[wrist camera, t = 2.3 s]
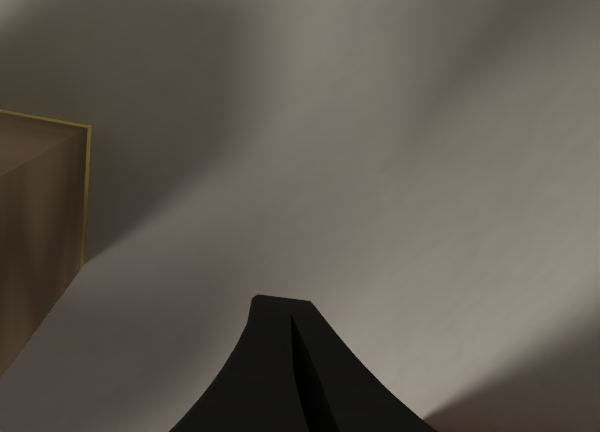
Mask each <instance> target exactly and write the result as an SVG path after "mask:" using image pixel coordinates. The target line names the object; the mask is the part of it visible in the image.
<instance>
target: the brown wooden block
mask: <svg viewBox="0 0 600 432" xmlns="http://www.w3.org/2000/svg"><path fill="white" fill-rule="evenodd" d="M91 129H92V126H90V125H85V124H79V123H74V122H68V121H62V120H57V119H51V118H46V117H40V116H34V115H29V114H23V113H18V112H12V111H7V110H1V109H0V378H1V377H2V375H3V374H4V373H5V371H6V370H7V368H8V367H9V366H10V364H11V363H12V362H13V360H14V359H15V358H16V356H17V355H18V353H19V352H20V351H21V349H22V348H23V347H24V345H25V344H26V343H27V341H28V340H29V339H30V337H31V336H32V334H33V333H34V332H35V330H36V329H37V328H38V326H39V325H40V324H41V322H42V321H43V319H44V318H45V317H46V315H47V314H48V313H49V311H50V310H51V309H52V307H53V306H54V305H55V303H56V302H57V300H58V299H59V298H60V296H61V295H62V294H63V292H64V291H65V290H66V288H67V287H68V285H69V284H70V283H71V281H72V280H73V279H74V277H75V276H76V275H77V273H78V272H79V271H80V269H81V268H82V266H83V265H84V259H85V241H86V222H87V203H88V185H89V166H90V147H91Z"/></svg>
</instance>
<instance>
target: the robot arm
mask: <svg viewBox="0 0 600 432" xmlns="http://www.w3.org/2000/svg"><path fill="white" fill-rule="evenodd" d="M169 432H437V431H436V430H434V429H433V428H432V427H431V426H429V425H428V424H427V423H426V422H424V421H423V420H422V419H421V418H419V417H418V416H417V415H416V414H415V413H414V412H412V411H411V410H410V409H409V408H408V407H407V406H406V405H404V404H403V403H402V402H401V401H400V400H399V399H398V398H396V397H395V396H394V395H393V394H392V393H391V392H390V391H389V390H388V389H387V388H386V387H385V386H384V385H383V384H382V383H381V382H380V381H379V380H378V379H377V378H376V377H375V376H374V375H373V374H372V373H371V372H370V371H369V370H368V369H367V368H366V367H365V366H364V365H363V364H362V363H361V362H360V360H359V359H358V358H357V357H356V356H355V355H354V354H353V353H352V351H351V350H350V349H349V348H348V347H347V346H346V344H345V343H344V342H343V341H342V340H341V339H340V337H339V336H338V335H337V334H336V332H335V331H334V330H333V329H332V327H331V326H330V325H329V324H328V322H327V321H326V320H325V319H324V317H323V316H322V315H321V314H320V312H319V311H318V310H317V308H316V307H315V306H314V305H313V304H312V302H311V301H305V300H297V299H290V298H282V297H274V296H267V295H259V294H258V295H256V296H255V297H253V298H252V301H251V307H250V312H249V317H248V322H247V324H246V327H245V329H244V331H243V333H242V335H241V337H240V339H239V341H238V343H237V345H236V347H235V348H234V350H233V352H232V353H231V355H230V356H229V358H228V360H227V361H226V363H225V365H224V366H223V368H222V369H221V371H220V372H219V374H218V375H217V376H216V378H215V379H214V381H213V382H212V383H211V385H210V386H209V387H208V388H207V390H206V391H205V392H204V394H203V395H202V396H201V397H200V398H199V400H198V401H197V402H196V403H195V404H194V405H193V406H192V408H191V409H190V410H189V411H188V412H187V413H186V414H185V416H184V417H183V418H182V419H181V420H180V421H179V422H178V423H177V424H176V425H175V426H174V427H173V428H172V429H171V430H170V431H169Z"/></svg>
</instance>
